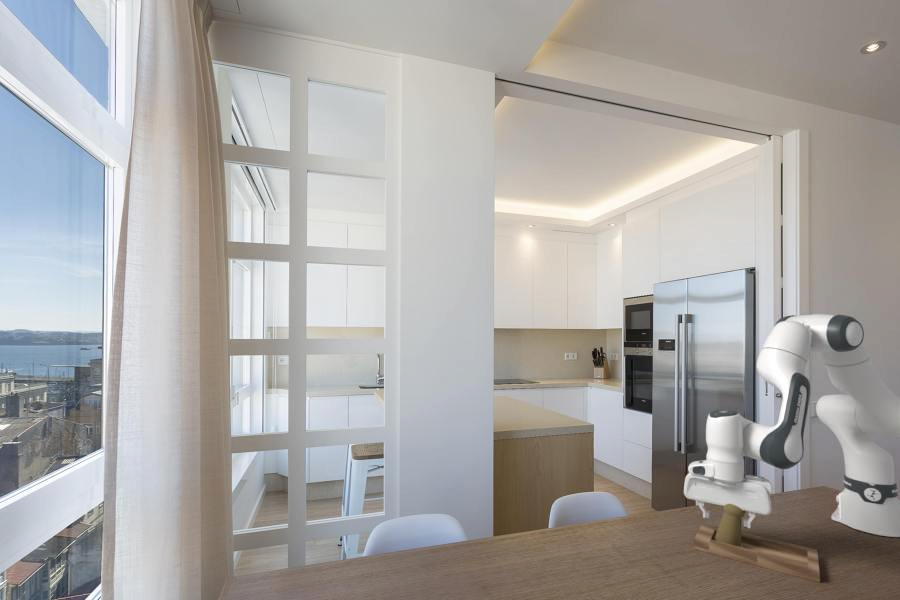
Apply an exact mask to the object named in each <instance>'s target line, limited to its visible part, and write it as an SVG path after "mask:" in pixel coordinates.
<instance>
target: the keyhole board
mask: <svg viewBox="0 0 900 600" xmlns="http://www.w3.org/2000/svg"><path fill="white" fill-rule="evenodd" d="M718 527H719V525H718V526H717V525H713V524H709V523H704V522H702V523H701V524H700V527H699V529H698V531H697V533H696V534H695V536H694V538H693V549H694V550H696V551H701V552H704V553H708V554H712V555H715V556H719V557H723V558H727V559H731V560H734V561H737V562H742V563H745V564H749V565H752V566H753V565H754V566H757V567H760V568H764V569H768V570H771V571H776V572H779V573H782V574H786V575H790V576H794V577H797V578H802V579H804V580H808V581H812V582H816V583H821V578H820V577H821V575H820V573H821V572H820V564H819V556H818V555H819V554H818V549H815V548H810V547H808V546H806V547H805V546H801V545H797V544H793V543H789V542H786V541H781V540H776V539H772V538H768V537H763V536H759V535H755V534H752V533H747V532H742V531H741V547H738V546H735V545H731V544H727V543H723V542H719V541H717V540H716V539H715V536H716V533H717V530H718Z"/></svg>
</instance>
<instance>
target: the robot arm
mask: <svg viewBox="0 0 900 600" xmlns="http://www.w3.org/2000/svg"><path fill="white" fill-rule="evenodd" d="M864 332H865V331H864V327H863V325H862V324H861V322H860V321H859V320H857V319H856V318H855V317H853V316H850V315H845V314H825V313H813V314H802V315H801V314H799V315H793V314H792V315H791V314H790V315H787V316H783V317H781V318H779V319H778V320H777V321H776V322H775V324H774V326H773V327H772V329H771V330H770V331H769V333H768V335H767V337H766V339H765V341H764V343H763V345H762V347H761V349H760V352H759V353H758V357H757V359H756V366H755V367H756V370H757V374H759V376H760V378H762V379H763V380H764V381H765V382H766V383H767V384H769V385H771V386H772V387H774V388H776V389H778V390H779V391H780V392H781V395H782V399H781V405H780V411H779V416H778V420H777V423H776V424H775V425H773V426H771V425H765V424H761V423H758V422H755V421H751V420H749V419H747V418H745V417H743V416H742V415H741V414H740V412H739V411H737V410H733V409H726V408H725V409H721V408H720V409H715V410H713V411H711V412H709V413H708V415H707V419H706V425H705V442H706V443H705V444H706V446H707V452H706V457H705V459H704V460H696V461H692V462H691V463H689V464H688V469H687V470H688V473H687V474H686V475H685V478H684V486H683V494H684V496H685V497H686V499H688V500H691V501H692V500H693V501H697V502H698V503H697V504H698V505H697V506H698V507H699V508H700V510H701V511H702V518H703V519H704V520H705V519H707V520H710V517H711V511H710V510H707V508H706V507H705V504H713V505H716V506H720V507H722V506H725V505H726V504H733V505H735V506H738V507H739V508H741V510H744V511H745V512H747V513H748V516H749V517H748V519H746V518H745V519H743V528H744V529H749V530H751V526H752V522H753V520H754V519H755V518H756V514H758V515H763V516H769V515H770V514H772V501H771V495H772V493H773V485H772V483H771V481H769V480H768V479H767V478H766V477H763V476H757V475H753V474H750V473H749V474H748V473H745V460H744V457H748V458H751V459H754V460H756V461H760V462H762V463H766V464H768V465H770V466H772V467H774V468H778V469H781V470H788V469H791V468H793V467H795V466H796V465H798V464H799V463H800V461H802V459H803V457H804V452H805V451H804V450H805V448H804V447H805V446H804V445H805V444H804V443H805V442H804V434H805V429H806V424H807V423H806V422H807V418H808V417H807V416H808V411H809V404H810V397H811V382H810V380H809V379H808V378H807V377H806V375H805V373H806V372H805V371H806V366H807V365H808V364H807V362H808V360H809V358H810V353H811V352H820V353H821V357H822V361H823V364H824V366H825V369H826V373H827V374H828V377H829V380H830V383H831V384H832V385H833V386H834V387H835V388H836V389H838V390H839V391H841V392H843V393H845V394H840V393H839V394H826V395H822V396H821V397H820V398H819V399H818V400H817V402H816V405H815V413H816V415H817V417H818V419H819V421H821V423H823V424H824V425H826V426H827V427H828V428H829V429H830V430H831V431H832V432H833V434H834V435H835V437H836V439H837V440H838V441H839V444H840V446H841V449H842V450H841V451H842V453H843V460H844V461H843V462H844V473H845V474H844V475H843V487H844V488H843V490H842V491H840V493H838V494H836V499H835V501H836V503H838V504H837V508H836V509H835V510H834V511H833V512H832V513H831V518H830V519H831V520H832V521H835V522H837V523H841V524H843V525H846V526H848V527H850V528H852V529H855V530H858V531H861V532H865V533H868V534H872V535H876V536H881V537H883V536H884V537H892V538H900V499H899V498H898V496H899V495H898V492H899V489H898V486H897V483H896V482H895V467H894V466H895V465H894V458H893V457H892V454H891V453H890V452H889V451H887V450H886V449H884V448H882V447H881V446H879V445H878V444H877V443H876V442H874V440H873V439H872V437H871V435H875V436H882V437H888V438H900V397H899V396H898V395H897V394H895V393H894V392H892V391H891V389H890V388H888V386H886V385H885V383H883V381H882V379H881V378H880V377H879V374H878V372H877V370H876V368H875V365H874V363H873V360H872V357H871V354H870V352H869V348H868V347H867V344H866V343H865V340H864V337H865V336H864V335H865V333H864Z"/></svg>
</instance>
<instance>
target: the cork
mask: <svg viewBox="0 0 900 600" xmlns="http://www.w3.org/2000/svg"><path fill="white" fill-rule="evenodd" d="M721 507H722V510H723V514H722V516H721V518H720V522H719V525H718V530H717V533H716V536H715V539H716V540H717V541H719V542H723V543H727V544H731V545H735V546H738V547H741V532H742V518H743V517H745V514H746V511H744V510H741V508H739V507H738V506H735V505H733V504H726V505H725V506H721Z"/></svg>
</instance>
